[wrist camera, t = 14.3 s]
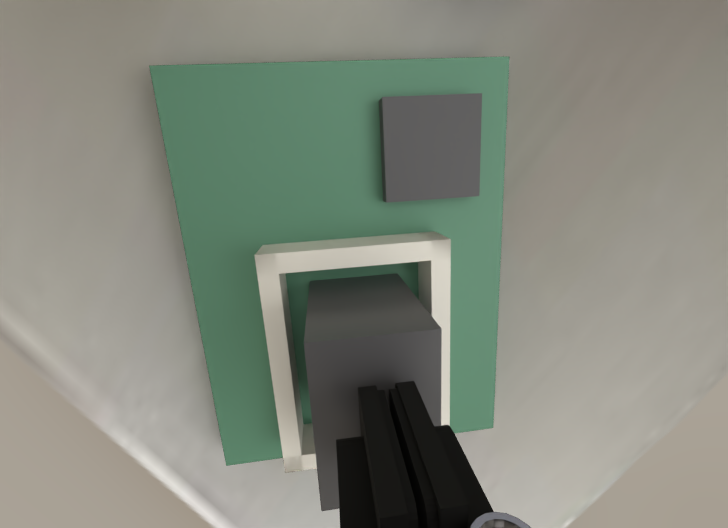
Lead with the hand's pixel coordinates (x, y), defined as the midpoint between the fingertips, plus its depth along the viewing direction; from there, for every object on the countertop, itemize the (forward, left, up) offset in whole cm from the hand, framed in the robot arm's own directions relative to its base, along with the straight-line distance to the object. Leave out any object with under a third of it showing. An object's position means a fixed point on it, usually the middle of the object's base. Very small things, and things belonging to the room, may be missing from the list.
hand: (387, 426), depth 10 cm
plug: (0, 0, -7) cm, 7 cm away
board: (-3, 0, -8) cm, 8 cm away
